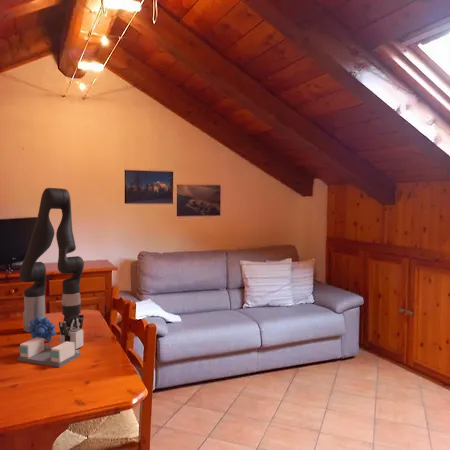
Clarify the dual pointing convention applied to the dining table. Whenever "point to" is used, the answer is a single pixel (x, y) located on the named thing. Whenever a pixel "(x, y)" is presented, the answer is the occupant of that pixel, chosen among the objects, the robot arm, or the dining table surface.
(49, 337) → the grapes
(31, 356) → the rail board
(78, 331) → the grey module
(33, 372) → the dining table surface
